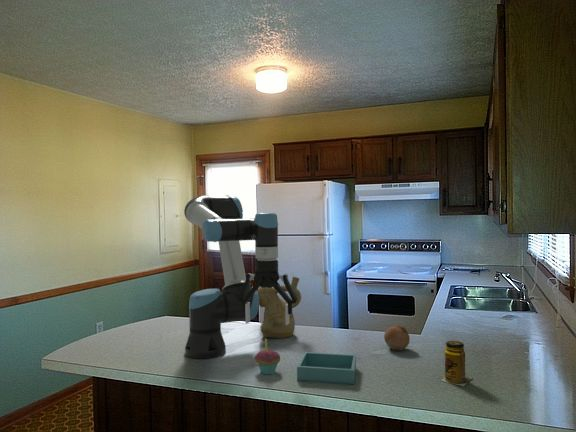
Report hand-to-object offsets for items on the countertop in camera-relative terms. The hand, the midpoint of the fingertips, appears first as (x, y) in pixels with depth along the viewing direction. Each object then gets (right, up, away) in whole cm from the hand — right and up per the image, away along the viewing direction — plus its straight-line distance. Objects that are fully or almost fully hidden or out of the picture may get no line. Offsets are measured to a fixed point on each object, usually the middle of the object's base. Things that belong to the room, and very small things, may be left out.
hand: (267, 323), depth 150 cm
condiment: (+60, -16, -8) cm, 63 cm away
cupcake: (0, -16, 0) cm, 16 cm away
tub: (+20, -16, -3) cm, 26 cm away
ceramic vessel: (+3, -16, +44) cm, 47 cm away
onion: (+49, -16, +23) cm, 56 cm away
